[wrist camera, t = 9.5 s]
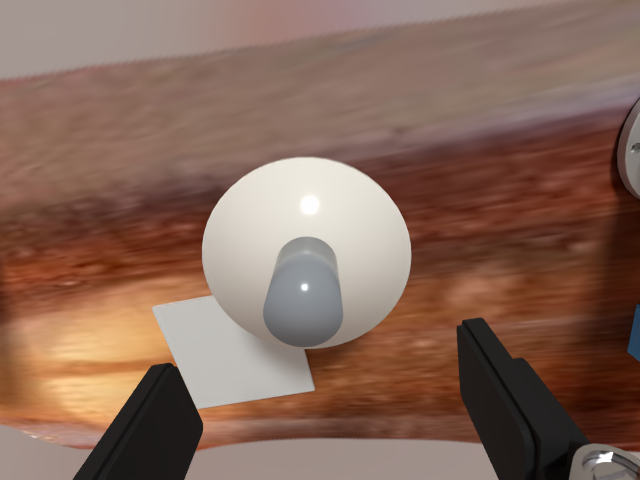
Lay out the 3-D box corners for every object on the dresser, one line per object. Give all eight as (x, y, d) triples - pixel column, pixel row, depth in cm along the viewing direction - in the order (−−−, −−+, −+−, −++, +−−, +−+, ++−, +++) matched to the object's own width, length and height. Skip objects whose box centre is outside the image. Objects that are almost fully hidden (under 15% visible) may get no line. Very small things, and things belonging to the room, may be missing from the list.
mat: (286, 281, 33) (285, 284, 32) (314, 387, 38) (314, 390, 38) (153, 305, 34) (151, 308, 33) (198, 405, 39) (197, 409, 38)
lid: (393, 134, 17) (429, 146, 12) (416, 321, 22) (450, 394, 16) (177, 181, 18) (115, 212, 13) (240, 352, 23) (215, 432, 17)
